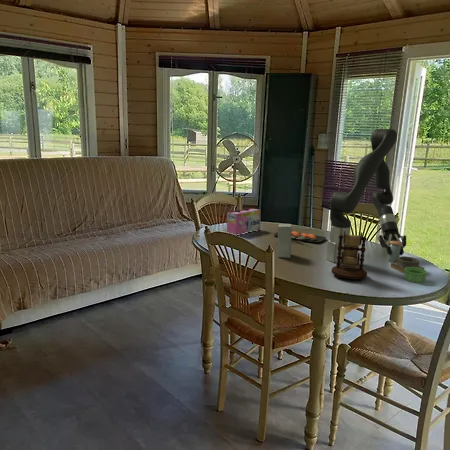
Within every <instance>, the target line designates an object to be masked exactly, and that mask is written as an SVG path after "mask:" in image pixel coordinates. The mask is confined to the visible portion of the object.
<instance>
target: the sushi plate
mask: <svg viewBox="0 0 450 450" xmlns="http://www.w3.org/2000/svg"><path fill="white" fill-rule="evenodd" d="M292 235H293V236H294V237H295V238H291V243H297V244H299V243H300V245H302V244H303V245H302V246H304V245H306V247H308V246H309V247H308V248H311V246H310V245H307V244H305V243H302V242H307V241H308V242H309V243H321V242H323V241H325V240H326V239H327V237H326V236H322V235H315V234H313V233H304V232H298V231H295V230H294V231H291V236H292ZM273 236H276V237H278V231H277V232H275V233H274V234H273ZM299 236H300V237H302V238H303V239H296V238H298V237H299ZM308 238H309V239H308ZM295 239H296V240H295ZM301 240H302V242H300V241H301Z"/></svg>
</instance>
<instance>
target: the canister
mask: <svg viewBox="0 0 450 450" xmlns="http://www.w3.org/2000/svg"><path fill="white" fill-rule="evenodd" d="M400 241H401V240H400ZM400 241H395V240H391V241H390V246H389V247H390V248H391V252H392V254H391V255H389V254H388V257H387V262H388V263H390V264H391V263H397V259H398V257H401V255H400V250H401V245H402V241H401V242H400Z"/></svg>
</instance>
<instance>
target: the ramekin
mask: <svg viewBox="0 0 450 450" xmlns="http://www.w3.org/2000/svg"><path fill="white" fill-rule="evenodd" d="M404 271H405V273H404V274H403V275H404V276H403V277H404V280H406V281H408V282H411V283H416V284H417V283H418V284H420V283H421V284H422V283H425V282H426V278H427V274H428V271H427V269H425V268H424V269H421V268H417V267H406V268H404Z"/></svg>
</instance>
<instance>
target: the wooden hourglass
mask: <svg viewBox="0 0 450 450" xmlns="http://www.w3.org/2000/svg"><path fill="white" fill-rule="evenodd" d="M342 239H343V243H344V247H342V246H341V245H342ZM366 241H367V236H363V232H362V231H360V234H359V235H356V234H350V235H345V231H344V237H343V235H339V243H338V244H339V245H338V256H337V261H338V262H337V263H336V264H335V266H333V267H331V274H333V275H334V276H336V278H337V279H338V280H339V279H340V278H344V279H348V280H349V279H350V280H360V282H362V281H363V279H364V278H365V279H366V277H367V276H368V271H367V270H365V269H364V262H365V253H366ZM342 249H344V250H343V252H342V255H341V250H342ZM340 255H341V256H340ZM340 260H341V263H340Z"/></svg>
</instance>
